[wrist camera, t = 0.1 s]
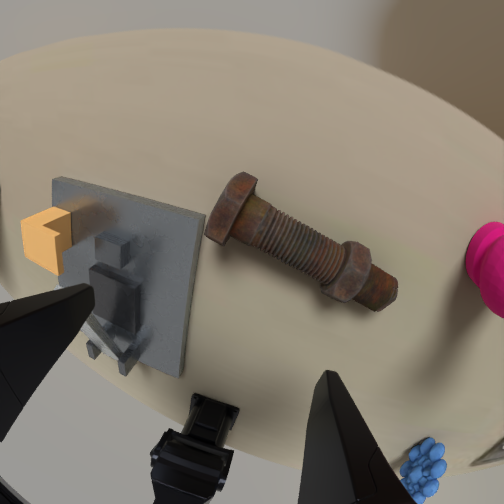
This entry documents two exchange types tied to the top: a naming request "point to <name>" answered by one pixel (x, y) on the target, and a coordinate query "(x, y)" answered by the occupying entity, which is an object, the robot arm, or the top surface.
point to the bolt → (299, 246)
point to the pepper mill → (488, 265)
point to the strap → (99, 336)
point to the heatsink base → (133, 269)
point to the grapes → (423, 470)
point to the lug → (47, 238)
